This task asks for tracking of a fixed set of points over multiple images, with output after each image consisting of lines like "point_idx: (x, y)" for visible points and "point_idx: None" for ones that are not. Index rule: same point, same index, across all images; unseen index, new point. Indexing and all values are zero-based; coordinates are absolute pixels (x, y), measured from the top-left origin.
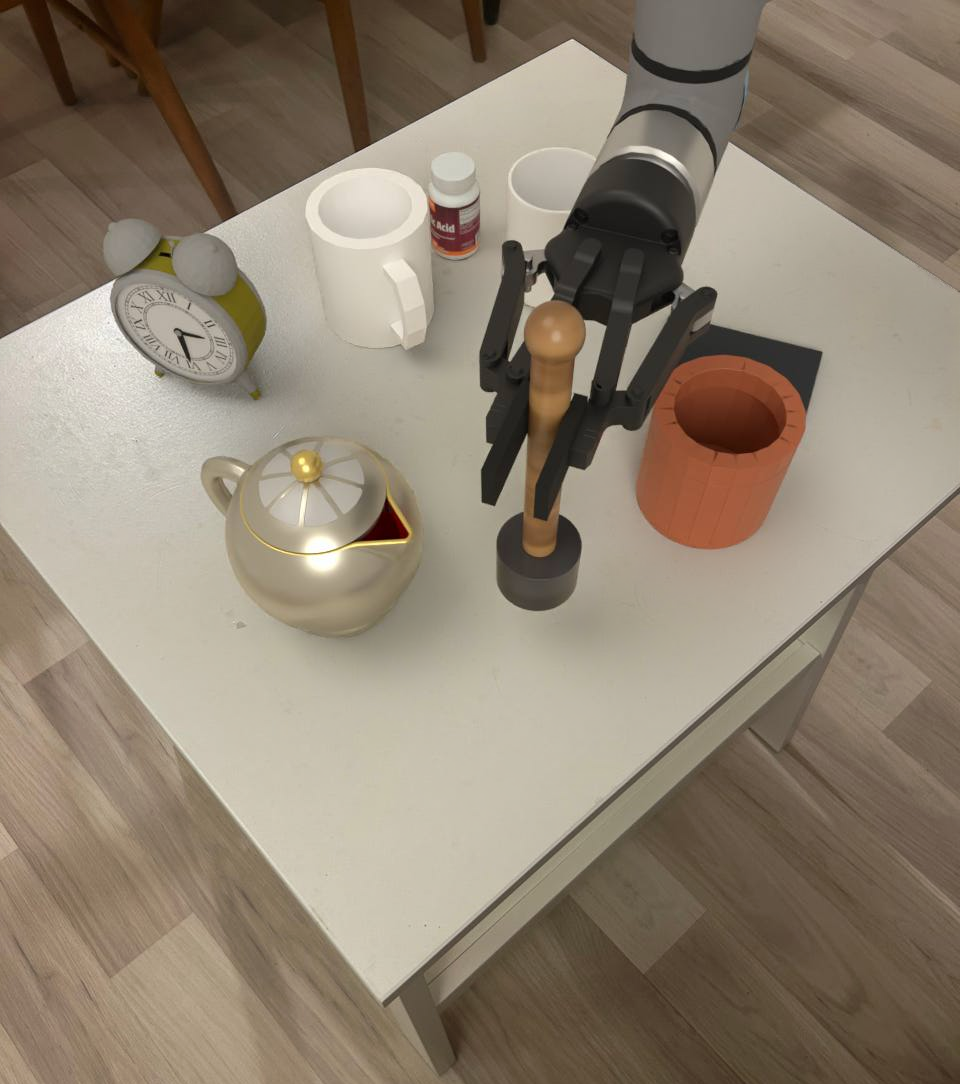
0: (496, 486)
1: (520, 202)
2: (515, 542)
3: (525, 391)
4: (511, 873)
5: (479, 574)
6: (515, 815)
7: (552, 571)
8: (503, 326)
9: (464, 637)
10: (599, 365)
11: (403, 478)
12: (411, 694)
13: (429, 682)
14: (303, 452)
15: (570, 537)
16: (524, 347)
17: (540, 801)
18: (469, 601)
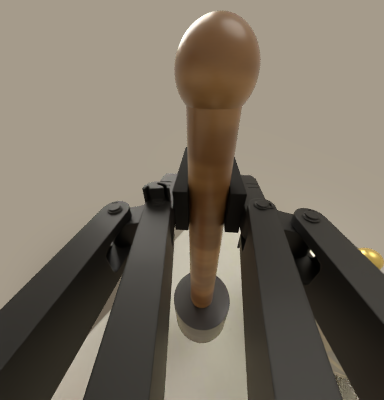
0: None
1: None
2: (216, 293)
3: (236, 186)
4: (182, 232)
5: (241, 364)
6: (185, 246)
7: (188, 278)
8: (345, 264)
9: (229, 312)
10: (163, 231)
11: (320, 334)
12: (237, 276)
13: (233, 284)
14: (377, 255)
15: (182, 307)
16: (278, 235)
17: (178, 252)
18: (237, 338)
